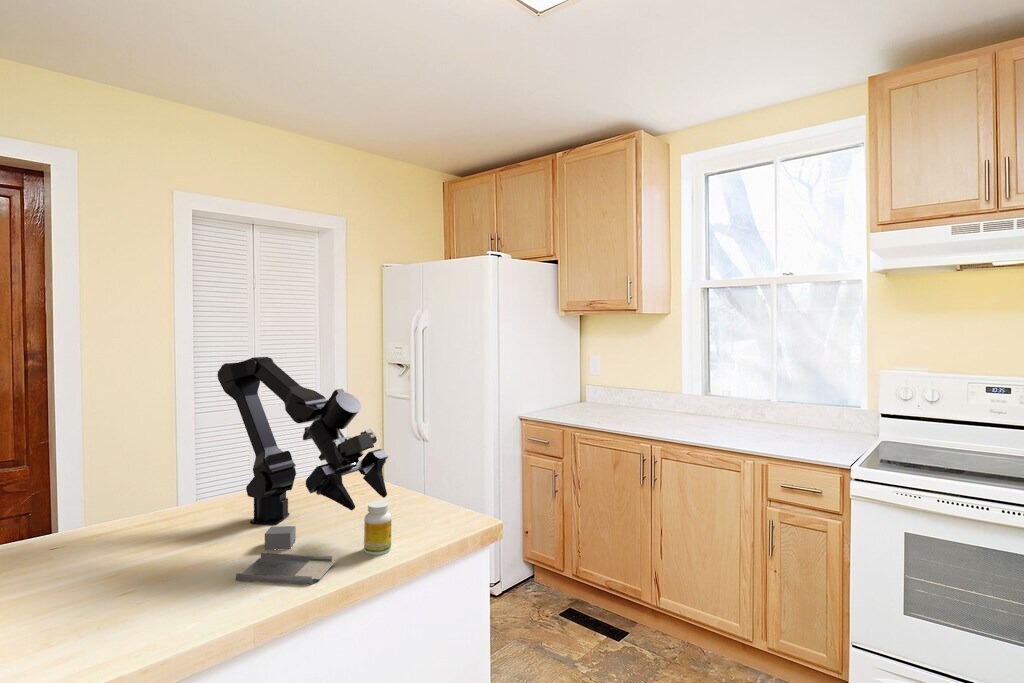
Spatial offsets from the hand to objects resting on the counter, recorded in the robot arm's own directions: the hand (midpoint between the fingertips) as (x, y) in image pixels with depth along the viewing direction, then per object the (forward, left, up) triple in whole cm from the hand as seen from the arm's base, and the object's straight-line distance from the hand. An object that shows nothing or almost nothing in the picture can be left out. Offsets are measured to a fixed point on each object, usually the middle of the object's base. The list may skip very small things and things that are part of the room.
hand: (370, 502), depth 114 cm
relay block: (-18, -1, -10) cm, 21 cm away
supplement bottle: (+2, -1, -10) cm, 10 cm away
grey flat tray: (-12, -12, -9) cm, 19 cm away
